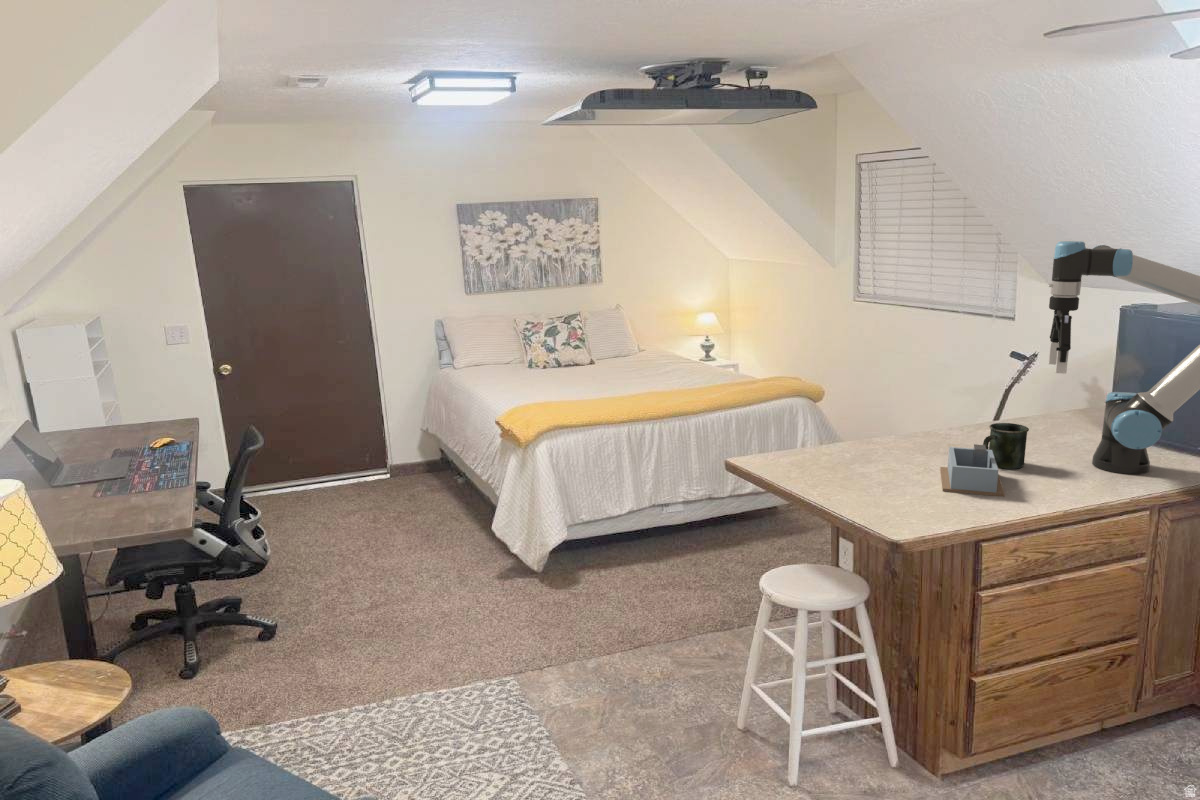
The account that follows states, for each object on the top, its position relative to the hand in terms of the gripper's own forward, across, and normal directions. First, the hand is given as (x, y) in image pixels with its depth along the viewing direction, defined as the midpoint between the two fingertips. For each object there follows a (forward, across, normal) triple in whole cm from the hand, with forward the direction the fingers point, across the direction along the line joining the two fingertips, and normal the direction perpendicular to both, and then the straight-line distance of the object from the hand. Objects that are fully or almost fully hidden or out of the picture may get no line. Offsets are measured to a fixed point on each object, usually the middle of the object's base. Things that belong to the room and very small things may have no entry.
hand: (1057, 368), depth 261 cm
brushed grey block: (+31, +16, -22) cm, 41 cm away
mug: (+32, -4, -12) cm, 34 cm away
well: (+32, +16, -22) cm, 42 cm away
